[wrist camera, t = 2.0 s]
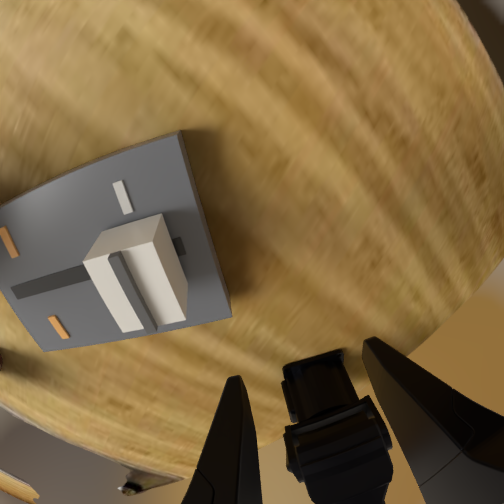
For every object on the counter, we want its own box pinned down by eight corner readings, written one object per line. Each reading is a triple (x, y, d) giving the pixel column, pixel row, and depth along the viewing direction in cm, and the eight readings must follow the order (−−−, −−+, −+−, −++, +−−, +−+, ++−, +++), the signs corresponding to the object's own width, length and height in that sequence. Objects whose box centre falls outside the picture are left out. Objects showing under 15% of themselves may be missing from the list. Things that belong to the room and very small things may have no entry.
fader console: (180, 130, 17) (176, 135, 15) (229, 296, 23) (232, 318, 21) (-16, 214, 16) (-34, 228, 14) (51, 333, 23) (43, 353, 21)
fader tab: (161, 213, 16) (150, 246, 13) (188, 283, 19) (185, 326, 15) (101, 231, 16) (79, 267, 13) (132, 296, 19) (121, 338, 15)
